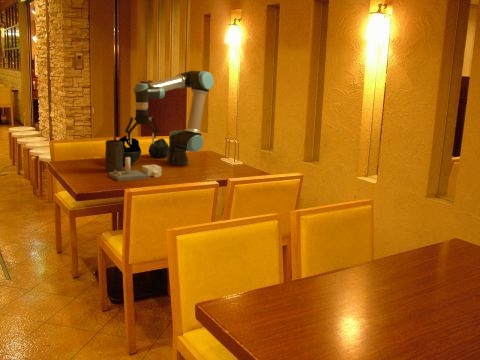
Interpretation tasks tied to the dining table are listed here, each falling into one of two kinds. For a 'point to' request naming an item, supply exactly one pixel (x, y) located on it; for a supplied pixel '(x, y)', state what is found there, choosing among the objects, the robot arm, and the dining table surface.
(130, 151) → the coal bowl
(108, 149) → the beer stein
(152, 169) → the square ring
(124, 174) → the post board
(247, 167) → the dining table surface
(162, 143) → the squash
